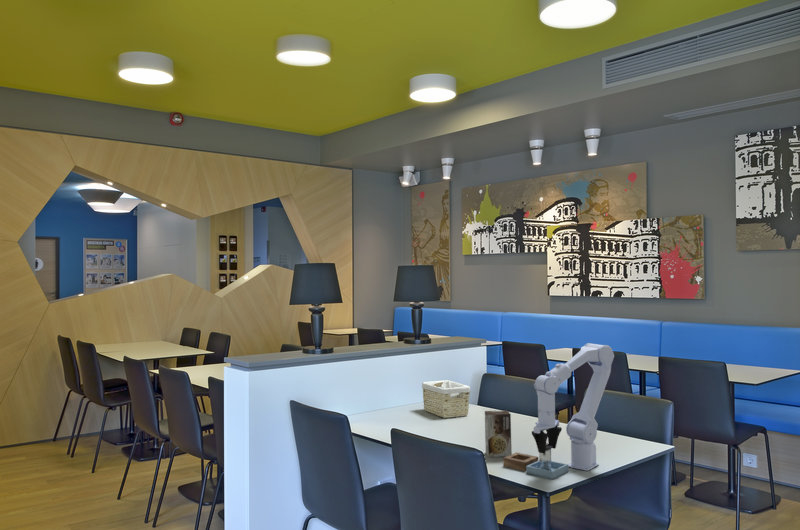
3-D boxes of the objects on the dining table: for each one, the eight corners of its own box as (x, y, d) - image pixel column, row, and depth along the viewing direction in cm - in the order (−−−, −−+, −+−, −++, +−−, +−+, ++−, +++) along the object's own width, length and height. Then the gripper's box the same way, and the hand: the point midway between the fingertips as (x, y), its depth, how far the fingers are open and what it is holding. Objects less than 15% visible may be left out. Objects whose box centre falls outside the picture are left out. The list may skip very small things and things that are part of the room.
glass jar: (542, 467, 219) (542, 442, 219) (555, 470, 216) (554, 444, 216) (535, 470, 216) (535, 445, 216) (548, 473, 212) (547, 447, 213)
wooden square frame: (516, 460, 230) (516, 452, 230) (538, 465, 224) (538, 456, 224) (503, 466, 223) (503, 457, 223) (525, 471, 217) (525, 462, 217)
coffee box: (508, 452, 241) (507, 410, 242) (511, 456, 235) (511, 413, 235) (484, 452, 241) (484, 410, 241) (487, 457, 234) (487, 414, 235)
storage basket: (420, 410, 320) (420, 381, 320) (448, 407, 326) (448, 379, 327) (442, 419, 298) (442, 388, 298) (472, 416, 304) (471, 386, 305)
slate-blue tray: (542, 466, 223) (542, 459, 223) (568, 471, 216) (568, 464, 216) (526, 473, 214) (526, 466, 215) (552, 479, 208) (552, 471, 208)
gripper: (546, 405, 224) (546, 444, 224) (525, 412, 213) (526, 452, 213) (564, 408, 219) (565, 447, 219) (544, 415, 208) (544, 456, 208)
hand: (547, 450), depth 215 cm, fingers open, 7 cm apart
